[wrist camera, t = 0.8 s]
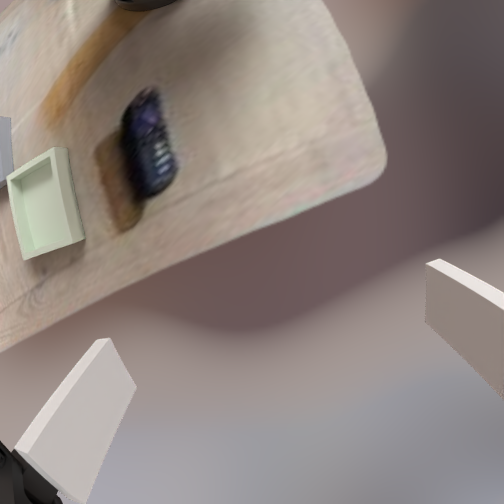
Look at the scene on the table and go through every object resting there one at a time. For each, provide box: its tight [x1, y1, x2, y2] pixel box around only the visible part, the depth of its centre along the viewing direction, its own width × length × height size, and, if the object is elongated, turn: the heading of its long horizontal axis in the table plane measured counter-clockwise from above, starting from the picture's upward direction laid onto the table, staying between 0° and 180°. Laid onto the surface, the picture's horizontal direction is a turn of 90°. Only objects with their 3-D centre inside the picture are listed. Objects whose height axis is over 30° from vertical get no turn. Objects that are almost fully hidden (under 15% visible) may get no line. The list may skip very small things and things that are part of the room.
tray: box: [6, 147, 86, 260], centre depth 32 cm, size 14×12×4 cm
